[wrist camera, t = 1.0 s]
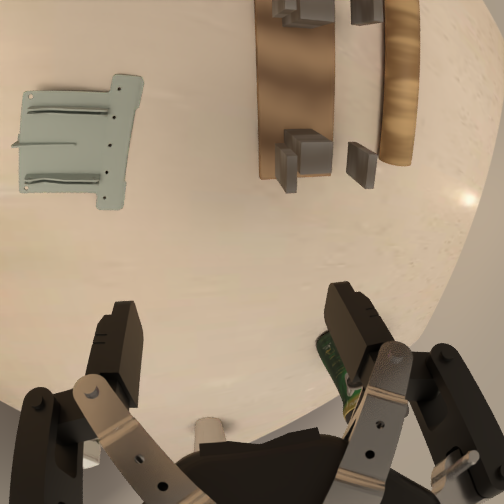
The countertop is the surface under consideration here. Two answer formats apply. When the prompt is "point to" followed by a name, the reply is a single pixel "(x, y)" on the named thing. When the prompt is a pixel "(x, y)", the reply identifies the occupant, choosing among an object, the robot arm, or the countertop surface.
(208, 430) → the dixie cup
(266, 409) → the countertop surface
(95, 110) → the metal bracket
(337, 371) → the coffee jar
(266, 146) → the bracket stand
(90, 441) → the supplement box
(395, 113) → the rail
